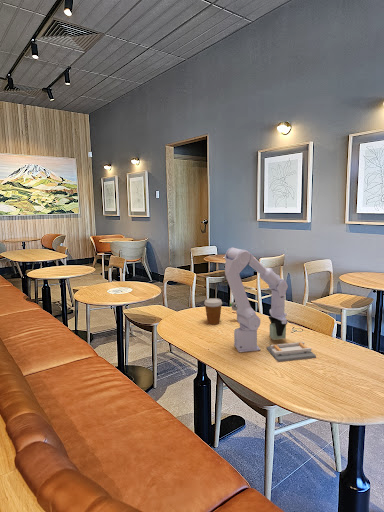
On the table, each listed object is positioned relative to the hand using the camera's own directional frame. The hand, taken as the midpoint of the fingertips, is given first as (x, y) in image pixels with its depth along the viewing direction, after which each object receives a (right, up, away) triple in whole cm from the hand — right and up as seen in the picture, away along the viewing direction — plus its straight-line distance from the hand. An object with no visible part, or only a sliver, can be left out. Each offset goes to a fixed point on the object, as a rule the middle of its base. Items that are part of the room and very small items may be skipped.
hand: (277, 333), depth 150 cm
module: (0, -2, 0) cm, 2 cm away
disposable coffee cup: (-27, 0, +25) cm, 37 cm away
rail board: (+2, -5, -12) cm, 13 cm away
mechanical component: (-13, 0, +27) cm, 30 cm away
